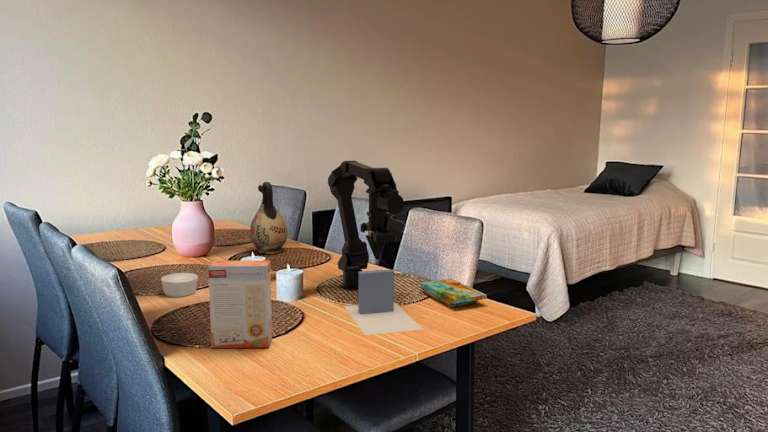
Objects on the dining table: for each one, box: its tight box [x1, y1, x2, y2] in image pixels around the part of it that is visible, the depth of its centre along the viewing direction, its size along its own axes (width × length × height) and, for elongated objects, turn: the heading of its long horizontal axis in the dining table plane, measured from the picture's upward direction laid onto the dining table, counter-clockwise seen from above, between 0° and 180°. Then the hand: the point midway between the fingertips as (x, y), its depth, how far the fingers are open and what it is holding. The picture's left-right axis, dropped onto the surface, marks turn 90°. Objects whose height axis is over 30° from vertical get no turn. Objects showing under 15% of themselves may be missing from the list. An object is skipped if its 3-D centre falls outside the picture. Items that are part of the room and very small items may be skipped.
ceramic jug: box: [249, 181, 289, 255], centre depth 238 cm, size 17×15×30 cm
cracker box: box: [207, 260, 273, 349], centre depth 141 cm, size 14×6×21 cm, turn 92°
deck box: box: [357, 268, 395, 314], centre depth 167 cm, size 2×10×12 cm, turn 107°
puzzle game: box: [419, 278, 488, 308], centre depth 181 cm, size 12×5×20 cm
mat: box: [343, 301, 424, 336], centre depth 163 cm, size 24×16×1 cm, turn 17°
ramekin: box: [160, 272, 199, 298], centre depth 184 cm, size 11×11×5 cm
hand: (377, 259), depth 177 cm, fingers closed
